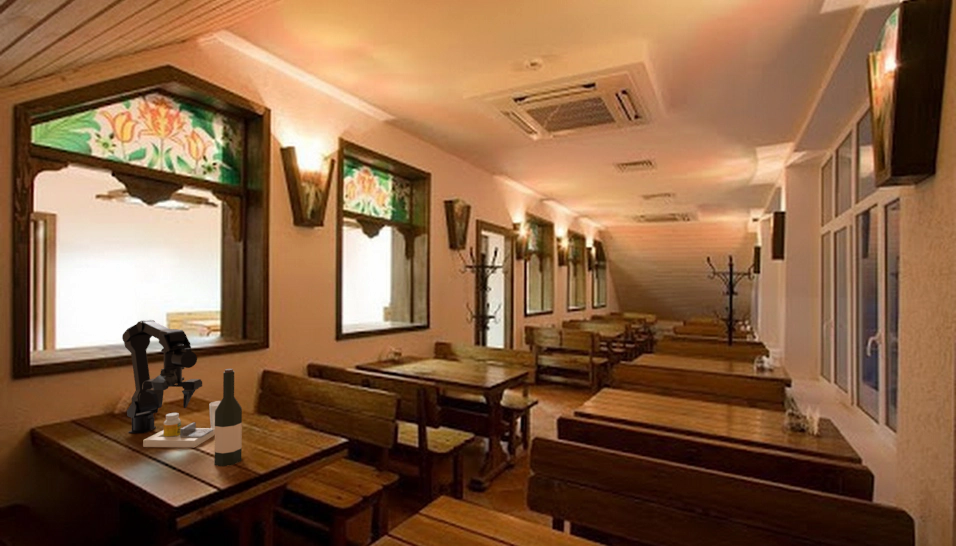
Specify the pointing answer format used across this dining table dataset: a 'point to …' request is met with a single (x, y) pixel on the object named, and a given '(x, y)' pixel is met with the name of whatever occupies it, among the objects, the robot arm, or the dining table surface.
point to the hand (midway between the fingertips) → (172, 407)
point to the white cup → (213, 412)
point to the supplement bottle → (172, 425)
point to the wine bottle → (228, 425)
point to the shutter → (193, 431)
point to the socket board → (175, 440)
